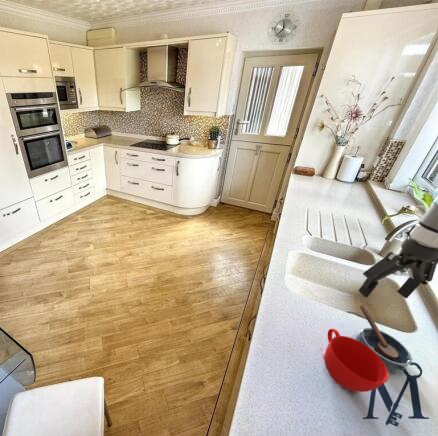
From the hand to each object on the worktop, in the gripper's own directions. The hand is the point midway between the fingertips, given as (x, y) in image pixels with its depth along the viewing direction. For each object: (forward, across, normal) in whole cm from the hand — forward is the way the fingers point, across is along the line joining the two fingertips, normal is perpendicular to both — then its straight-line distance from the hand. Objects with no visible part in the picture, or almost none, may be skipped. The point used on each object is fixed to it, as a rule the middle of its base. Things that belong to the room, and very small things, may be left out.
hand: (382, 294), depth 75 cm
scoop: (+17, 0, +5) cm, 18 cm away
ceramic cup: (+18, +18, +14) cm, 29 cm away
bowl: (+18, 0, +9) cm, 20 cm away
